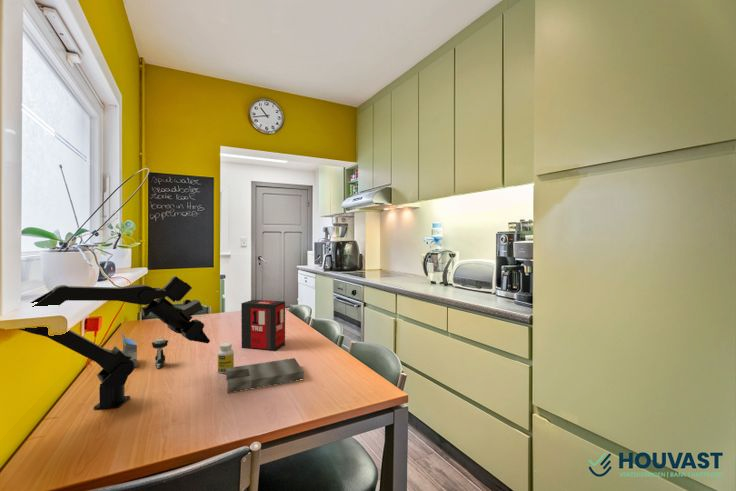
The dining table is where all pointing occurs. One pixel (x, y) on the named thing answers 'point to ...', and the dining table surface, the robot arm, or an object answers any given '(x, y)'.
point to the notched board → (263, 374)
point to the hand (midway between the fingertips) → (203, 339)
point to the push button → (159, 351)
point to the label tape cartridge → (130, 349)
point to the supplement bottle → (225, 357)
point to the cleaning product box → (263, 324)
